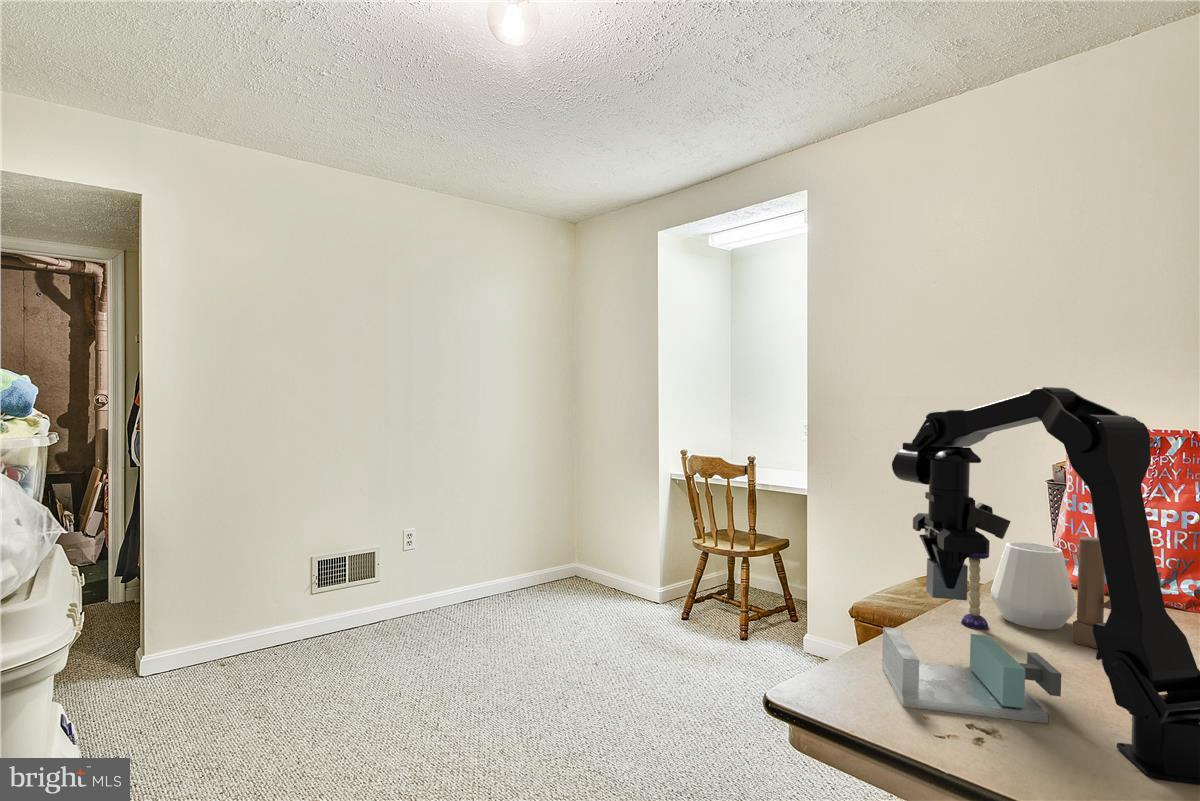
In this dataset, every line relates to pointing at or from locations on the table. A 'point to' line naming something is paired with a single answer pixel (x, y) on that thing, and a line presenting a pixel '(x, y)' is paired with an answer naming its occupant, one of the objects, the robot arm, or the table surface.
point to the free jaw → (1010, 671)
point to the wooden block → (1090, 592)
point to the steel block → (937, 584)
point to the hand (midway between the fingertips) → (946, 585)
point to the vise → (945, 685)
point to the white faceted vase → (1033, 586)
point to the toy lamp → (975, 594)
